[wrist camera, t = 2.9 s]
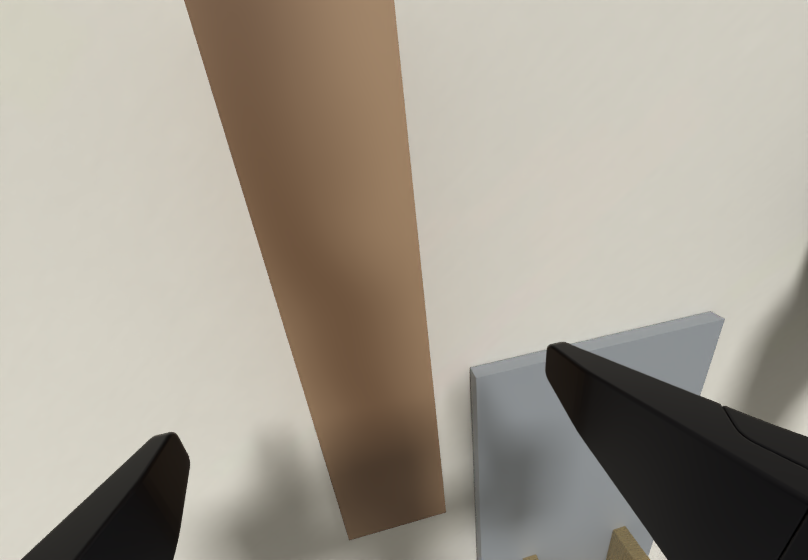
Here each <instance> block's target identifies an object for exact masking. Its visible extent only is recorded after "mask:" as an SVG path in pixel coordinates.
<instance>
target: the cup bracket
mask: <svg viewBox="0 0 808 560" xmlns="http://www.w3.org/2000/svg"><path fill="white" fill-rule="evenodd" d="M523 560H539V559H538V557H537V555H536V554H535V555H532V556H528V557H525V558H523ZM606 560H650V559H649V557H648V556H647V555H646V553H645V552H644V551H643V549H642V548H641V547H640V545H639V544H638V542H637V541H636V540H635V538H634V537H633V536H632V534H631V533H630V532H629V530H628V529H627V527H626V526H623V527H620V528H617V529H614V530H613V532H612V536H611V540H610V544H609V549H608V553H607V557H606Z"/></svg>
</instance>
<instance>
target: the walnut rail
mask: <svg viewBox="0 0 808 560" xmlns="http://www.w3.org/2000/svg"><path fill="white" fill-rule="evenodd" d="M184 1H185V5H186V8H187V11H188V14H189V18H190V21H191V24H192V28H193V31H194V34H195V37H196V41H197V44H198V47H199V50H200V54H201V57H202V60H203V64H204V67H205V70H206V73H207V77H208V80H209V83H210V86H211V90H212V93H213V96H214V100H215V103H216V106H217V109H218V113H219V116H220V119H221V122H222V126H223V129H224V132H225V135H226V139H227V142H228V145H229V149H230V152H231V155H232V158H233V162H234V165H235V168H236V171H237V175H238V178H239V181H240V185H241V188H242V191H243V194H244V198H245V201H246V204H247V207H248V211H249V214H250V217H251V220H252V224H253V227H254V230H255V234H256V237H257V240H258V243H259V247H260V250H261V253H262V256H263V260H264V263H265V266H266V270H267V273H268V276H269V279H270V283H271V286H272V289H273V292H274V296H275V299H276V302H277V306H278V309H279V312H280V315H281V319H282V322H283V325H284V328H285V332H286V335H287V338H288V341H289V345H290V348H291V351H292V355H293V358H294V361H295V364H296V368H297V371H298V374H299V377H300V381H301V384H302V387H303V391H304V394H305V397H306V400H307V404H308V407H309V410H310V413H311V417H312V420H313V423H314V426H315V430H316V433H317V436H318V440H319V443H320V446H321V449H322V453H323V456H324V459H325V462H326V466H327V469H328V472H329V476H330V479H331V482H332V485H333V489H334V492H335V495H336V498H337V502H338V505H339V508H340V512H341V515H342V518H343V521H344V525H345V528H346V531H347V534H348V538H349V540H352V539H356V538H359V537H363V536H366V535H369V534H373V533H376V532H380V531H383V530H387V529H390V528H394V527H397V526H400V525H404V524H407V523H411V522H414V521H418V520H421V519H425V518H428V517H432V516H435V515H438V514H442V513H445V512H446V508H445V498H444V488H443V478H442V468H441V459H440V449H439V439H438V429H437V419H436V409H435V399H434V390H433V380H432V370H431V360H430V350H429V340H428V330H427V321H426V311H425V301H424V291H423V281H422V271H421V262H420V252H419V242H418V232H417V222H416V212H415V202H414V193H413V183H412V173H411V163H410V153H409V143H408V133H407V124H406V114H405V104H404V94H403V84H402V74H401V65H400V55H399V45H398V35H397V25H396V15H395V5H394V0H184Z"/></svg>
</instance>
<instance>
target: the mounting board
mask: <svg viewBox="0 0 808 560" xmlns="http://www.w3.org/2000/svg"><path fill="white" fill-rule="evenodd" d="M724 320H725V319H724V318H722V317H720V316H719V315H717V314H715V313H713V312H711V311H710V312H706V313H702V314H698V315H693V316H689V317H685V318H681V319H676V320H672V321H668V322H663V323H659V324H655V325H651V326H646V327H642V328H638V329H633V330H629V331H625V332H621V333H616V334H612V335H608V336H603V337H599V338H595V339H591V340H586V341H582V342H578V343H573V344H571V345H574V346H576V347H579V348H581V349H584V350H586V351H589V352H591V353H594V354H596V355H599V356H601V357H604V358H606V359H609V360H611V361H614V362H616V363H619V364H621V365H624V366H626V367H629V368H631V369H634V370H636V371H639V372H641V373H644V374H646V375H649V376H651V377H654V378H657V379H659V380H662V381H664V382H667V383H669V384H672V385H674V386H677V387H679V388H682V389H684V390H687V391H689V392H692V393H694V394H697V395H699V396H700V394H701V391H702V388H703V385H704V382H705V379H706V376H707V373H708V369H709V366H710V363H711V360H712V357H713V354H714V351H715V348H716V345H717V342H718V339H719V335H720V332H721V329H722V326H723V323H724ZM545 363H546V350H544V351H539V352H535V353H531V354H526V355H522V356H518V357H514V358H509V359H505V360H501V361H496V362H492V363H488V364H484V365H479V366H475V367H471V368H470V377H471V404H472V431H473V457H474V484H475V511H476V537H477V560H523V558H525V557H528V556H532V555H535V554H536V555H537V557H538V559H539V560H606V557H607V553H608V549H609V544H610V540H611V536H612V532H613V530H614V529H617V528H620V527H623V526H626V527H627V529H628V530H629V532H630V533H631V534H632V536H633V537H634V538H635V540H636V541H637V542H638V544H639V545H640V547H641V548H642V549H643V551H644V552H645V553H646V555H647V556H648V555H649V552H650V549H651V546H652V543H653V538H652V537H651V535H650V534H649V533H648V531H647V530H646V528H645V527H644V526H643V524H642V523H641V521H640V520H639V518H638V517H637V516H636V514H635V513H634V511H633V510H632V509H631V507H630V506H629V504H628V503H627V502H626V500H625V499H624V497H623V496H622V494H621V493H620V492H619V490H618V489H617V487H616V486H615V485H614V483H613V482H612V480H611V479H610V477H609V476H608V475H607V473H606V472H605V470H604V469H603V468H602V466H601V465H600V463H599V462H598V461H597V459H596V458H595V456H594V455H593V453H592V452H591V451H590V449H589V448H588V446H587V445H586V444H585V442H584V441H583V439H582V438H581V436H580V435H579V433H578V432H577V430H576V429H575V427H574V425H573V424H572V422H571V420H570V418H569V417H568V415H567V413H566V411H565V410H564V408H563V406H562V404H561V402H560V401H559V399H558V397H557V395H556V394H555V392H554V390H553V388H552V386H551V385H550V383H549V381H548V379H547V377H546V373H545Z"/></svg>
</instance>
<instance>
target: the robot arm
mask: <svg viewBox="0 0 808 560" xmlns="http://www.w3.org/2000/svg"><path fill="white" fill-rule="evenodd" d="M545 373H546V377H547V379H548V381H549V383H550V385H551V386H552V388H553V390H554V392H555V394H556V395H557V397H558V399H559V401H560V402H561V404H562V406H563V408H564V410H565V411H566V413H567V415H568V417H569V418H570V420H571V422H572V424H573V425H574V427H575V429H576V430H577V432H578V433H579V435H580V436H581V438H582V439H583V441H584V442H585V444H586V445H587V446H588V448H589V449H590V451H591V452H592V453H593V455H594V456H595V458H596V459H597V461H598V462H599V463H600V465H601V466H602V468H603V469H604V470H605V472H606V473H607V475H608V476H609V477H610V479H611V480H612V482H613V483H614V485H615V486H616V487H617V489H618V490H619V492H620V493H621V494H622V496H623V497H624V499H625V500H626V502H627V503H628V504H629V506H630V507H631V509H632V510H633V511H634V513H635V514H636V516H637V517H638V518H639V520H640V521H641V523H642V524H643V526H644V527H645V528H646V530H647V531H648V533H649V534H650V535H651V537H652V538H653V540H654V541H655V543H656V544H657V545H658V547H659V548H660V550H661V551H662V552H663V554H664V555H665V557H666V558H667V560H808V437H807V436H804V435H801V434H798V433H795V432H792V431H790V430H787V429H784V428H781V427H778V426H776V425H773V424H770V423H768V422H765V421H763V420H760V419H757V418H755V417H752V416H750V415H747V414H744V413H742V412H739V411H737V410H734V409H732V408H729V407H727V406H722V405H721V404H719V403H717V402H714V401H712V400H709V399H707V398H704V397H702V396H699V395H697V394H694V393H692V392H689V391H687V390H684V389H682V388H679V387H677V386H674V385H672V384H669V383H667V382H664V381H662V380H659V379H657V378H654V377H651V376H649V375H646V374H644V373H641V372H639V371H636V370H634V369H631V368H629V367H626V366H624V365H621V364H619V363H616V362H614V361H611V360H609V359H606V358H604V357H601V356H599V355H596V354H594V353H591V352H589V351H586V350H584V349H581V348H579V347H576V346H574V345H571V344H569V343H566V342H558V343H554V344H550V345H549V346H548V347H547V350H546V363H545ZM189 470H190V459H189V456H188V454H187V452H186V450H185V448H184V446H183V444H182V442H181V441H180V439H179V437H178V435H177V434H176V433H174V432H168V433H164V434H160V435H156V436H154V437H152V438H151V439H150V440H148V441H147V442H146V443H145V444H144V445H143V446H142V447H141V448H140V449H139V450H138V451H137V452H136V453H135V454H133V455H132V456H131V457H130V458H129V459H128V460H127V461H126V462H125V463H124V464H123V465H122V466H121V467H120V468H119V469H117V470H116V471H115V472H114V473H113V474H112V475H111V476H110V477H109V478H108V479H107V480H106V481H105V482H104V483H102V484H101V485H100V486H99V487H98V488H97V489H96V490H95V491H94V492H93V493H92V494H91V495H90V496H89V497H87V498H86V499H85V500H84V501H83V502H82V503H81V504H80V505H79V506H78V507H77V508H76V509H75V510H74V511H72V512H71V513H70V514H69V515H68V516H67V517H66V518H65V519H64V520H63V521H62V522H61V523H60V524H59V525H57V526H56V527H55V528H54V529H53V530H52V531H51V532H50V533H49V534H48V535H47V536H46V537H45V538H44V539H42V540H41V541H40V542H39V543H38V544H37V545H36V546H35V547H34V548H33V549H32V550H31V551H30V552H29V553H27V554H26V555H25V556H24V557H23V558H22V559H21V560H173V559H174V555H175V551H176V547H177V543H178V538H179V533H180V528H181V521H182V515H183V508H184V502H185V495H186V489H187V483H188V476H189Z"/></svg>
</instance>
